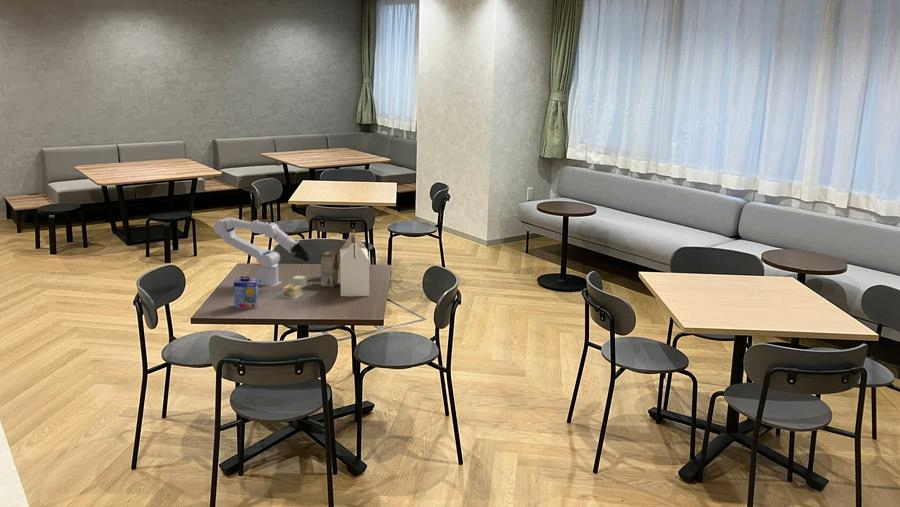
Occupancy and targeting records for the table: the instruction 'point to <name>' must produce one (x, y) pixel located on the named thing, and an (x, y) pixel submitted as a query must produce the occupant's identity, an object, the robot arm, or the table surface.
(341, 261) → the gable box
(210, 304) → the table surface
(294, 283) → the sage top block
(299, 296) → the board
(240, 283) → the ink cartridge box
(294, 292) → the maple base block
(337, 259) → the coffee box
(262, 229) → the robot arm
